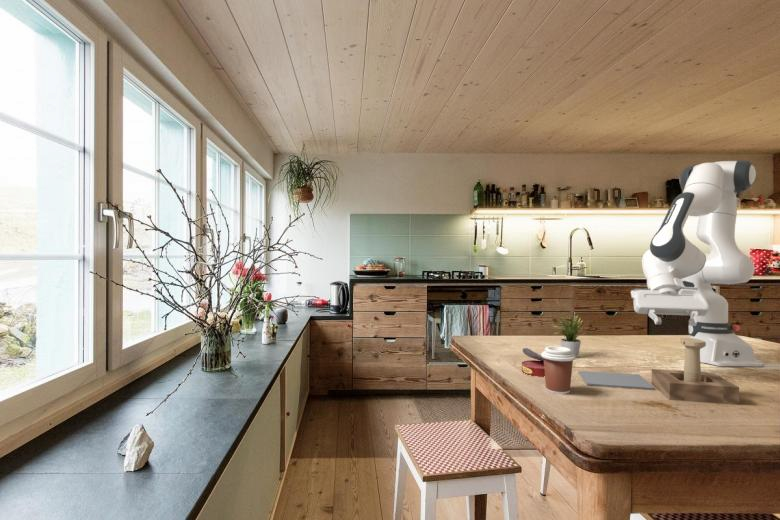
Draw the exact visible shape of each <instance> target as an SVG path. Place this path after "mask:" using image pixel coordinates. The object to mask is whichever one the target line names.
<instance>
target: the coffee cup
mask: <svg viewBox="0 0 780 520" xmlns="http://www.w3.org/2000/svg"><path fill="white" fill-rule="evenodd" d="M540 355H541V356H542V358H544V370H545V377H544V378H545V379H544V380H545V390H546V391H547V392H548V391H549V392H548V393H550V392H553V393H552V394H554V393H559V394H558V395H568V394H570V393H571V383H572V376H573V375H572V374H573V363H574V361H575V360H576V358H575V355H574V354H573V353H572V350H571V349H569V348H566V347H562V346H557V345H550V346H546V347H545V348H544V350H543V351H542V352H541V354H540ZM569 392H570V393H569ZM567 393H568V394H567Z"/></svg>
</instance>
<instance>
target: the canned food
mask: <svg viewBox="0 0 780 520" xmlns="http://www.w3.org/2000/svg"><path fill="white" fill-rule="evenodd" d="M522 353H523V354H524V355H525V356H527V357H529V358H532V359H534V360H529V359H528V360H524V361H522V362H521V373H522V372H523V373H522V374H524V373H525V374H524V375H526V374H527V376H529V375H531V376H530V377H534V376H538V377H537V378H545V377H544V376H545V370H544V358H542V356H541V354H539V353H538V352H536V351H534V350H532V349H530V348H527V347H523V348H522Z"/></svg>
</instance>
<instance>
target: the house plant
mask: <svg viewBox="0 0 780 520" xmlns="http://www.w3.org/2000/svg"><path fill="white" fill-rule="evenodd" d="M574 315H575V314H572V316H571V318H570V322H569V320H568V319H567V317H566V316H565V315H563V316H560V315H559V317H560V318H561V319H560V320H557V319H556V318H553V317H552V318H550V319H553V320H554V321H556V322H557V323H561V324H560V326H557V325H551V327H553V328H555V329H554V330H556V331H555V332H554V334H555V336H556V334H557V335H558V334H559V333H560V334H561V335H563V337H564V338H560V345H561V347H566V348H569V349H571V350H572V353H573V354H574V355H575V359H578V358H579V353H580V349H581V344H582V341H581V339H577V338H578V337H579V336H580V334H581V333H584V332H589V331H588V330H584V331H583V330H582V331H580V332H578V331H579V330H580V328H581V327H583V325H584V324H585V322H583V320H581V317H580V318H579V319H578V317H579V315H576V316H574ZM580 320H581V321H580ZM582 322H583V323H582ZM556 328H557V329H556ZM557 330H558V331H557ZM559 330H560V331H559Z"/></svg>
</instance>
